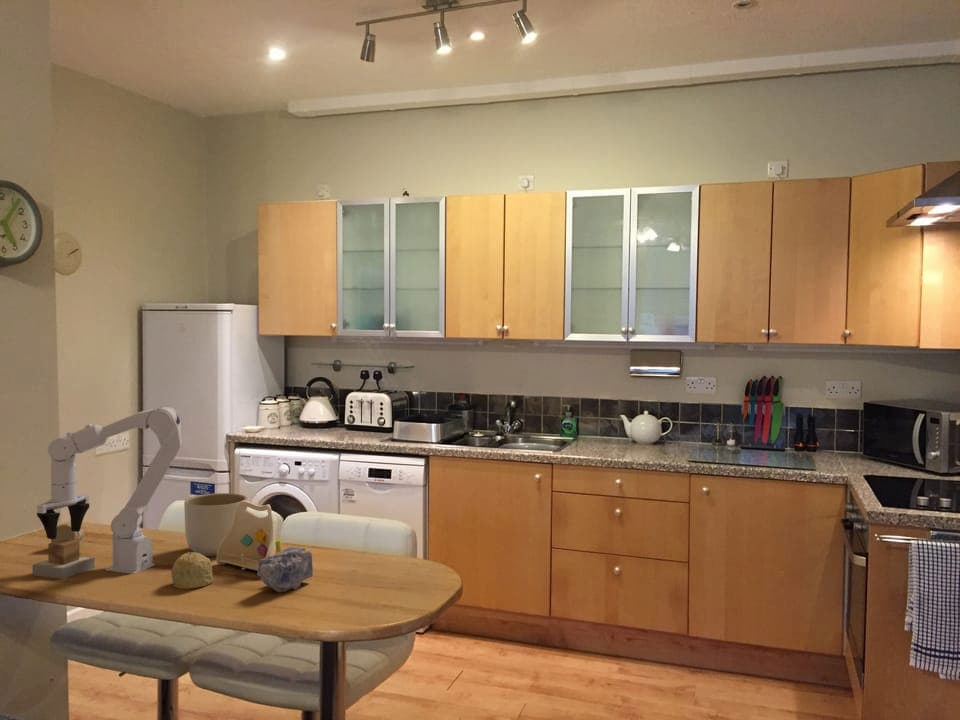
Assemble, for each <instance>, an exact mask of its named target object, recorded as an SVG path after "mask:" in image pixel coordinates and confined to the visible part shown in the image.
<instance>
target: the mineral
mask: <svg viewBox="0 0 960 720" xmlns="http://www.w3.org/2000/svg"><path fill="white" fill-rule="evenodd" d="M258 565H259V567H258V571H257V573H256V574H257V576H259V577H260V580H261V582H262V583H264V584H265V585H267V586H268V587H269V588H271V589H273V590H274V591H275V592H277V593H282V592H283V593H284V592H287V591H289V590H297V589H299V588H300V586H301V584H302V582H304V581H306V580H307V579H311V578H313V576H314V570H313V555H312V552H311V550H306V549H305V547H298V546H297V547H296V546H289V547H286V548H285V549H283V550H281V552H277V553H276V554H274V555H271V556H269V557H268V558H267V559H261V560H260V561H259V564H258Z"/></svg>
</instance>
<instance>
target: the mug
mask: <svg viewBox="0 0 960 720" xmlns="http://www.w3.org/2000/svg"><path fill="white" fill-rule="evenodd" d="M84 537H85V531H84V529H82V528H80V531H79V532H75V531H72V529H71V523H70V524H69V523H64V524H60V525H57V535H56V539H50V541H51V542H50V543H52V542H55V541H59V540H62V539H71V540H79V542H80V541H82V540H83V539H84Z"/></svg>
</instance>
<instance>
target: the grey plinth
mask: <svg viewBox="0 0 960 720" xmlns="http://www.w3.org/2000/svg"><path fill="white" fill-rule="evenodd" d="M95 559H96V558H95V557H92V556H83V555H79V560H76V561H73V562H70V563H68V564H65V565H61V564H53V563H48V559H46V560H42V561H39V562H36V563H33V564H31V566H32V576H37V577H42V578H52V579H58V580H59V579H61V580H64V579H67V578H70V577H73V576H75V575H78V574H81V573H84V572H87V571H90V570H92V569H95V567H96V566H95V563H96V561H95Z"/></svg>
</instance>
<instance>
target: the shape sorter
mask: <svg viewBox="0 0 960 720" xmlns="http://www.w3.org/2000/svg"><path fill="white" fill-rule="evenodd" d="M248 508H250V509H252V510H253V511H257V512H265V511H267V515H265V516H261V515H258V514H256V513H254V512H253V511H250V510H249V509H248ZM272 512H273V511H272V506H271V505H270V504H269V503H267V504H265V505H261V504H256V503H254V502H252V501H248V500H247V501H241V502H240V503H239V505H238V507H237V510H236V514H235V520H234V524H233V527H232V529H231V531H230V532H229V534H228V535H227V536H226V537H225V538H224V539H223V541H222V542H221V543H220V545H219V548H218V551H217V556H216V564H217V566H219V565H221V566H222V565H223V566H224V565H225V564H230V565H234V566H237V567H241V570H243V571H245V570H247V569H250V570H253V571H257V572H258V567H259V565H258V564H259V561H260V560H261V559H267V558H268V557H269V556H271V555H274V554H276V553H279V552H281V551H282V550H281V541H280V540H276V536H275V529H274V521H273V519H274V518H273V514H272Z"/></svg>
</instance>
